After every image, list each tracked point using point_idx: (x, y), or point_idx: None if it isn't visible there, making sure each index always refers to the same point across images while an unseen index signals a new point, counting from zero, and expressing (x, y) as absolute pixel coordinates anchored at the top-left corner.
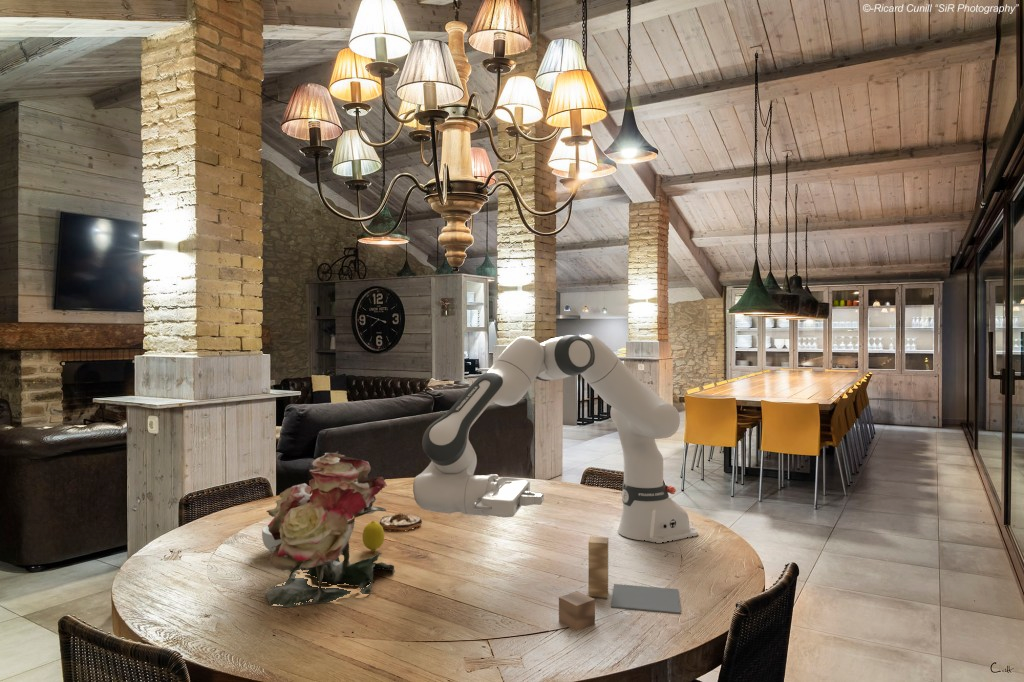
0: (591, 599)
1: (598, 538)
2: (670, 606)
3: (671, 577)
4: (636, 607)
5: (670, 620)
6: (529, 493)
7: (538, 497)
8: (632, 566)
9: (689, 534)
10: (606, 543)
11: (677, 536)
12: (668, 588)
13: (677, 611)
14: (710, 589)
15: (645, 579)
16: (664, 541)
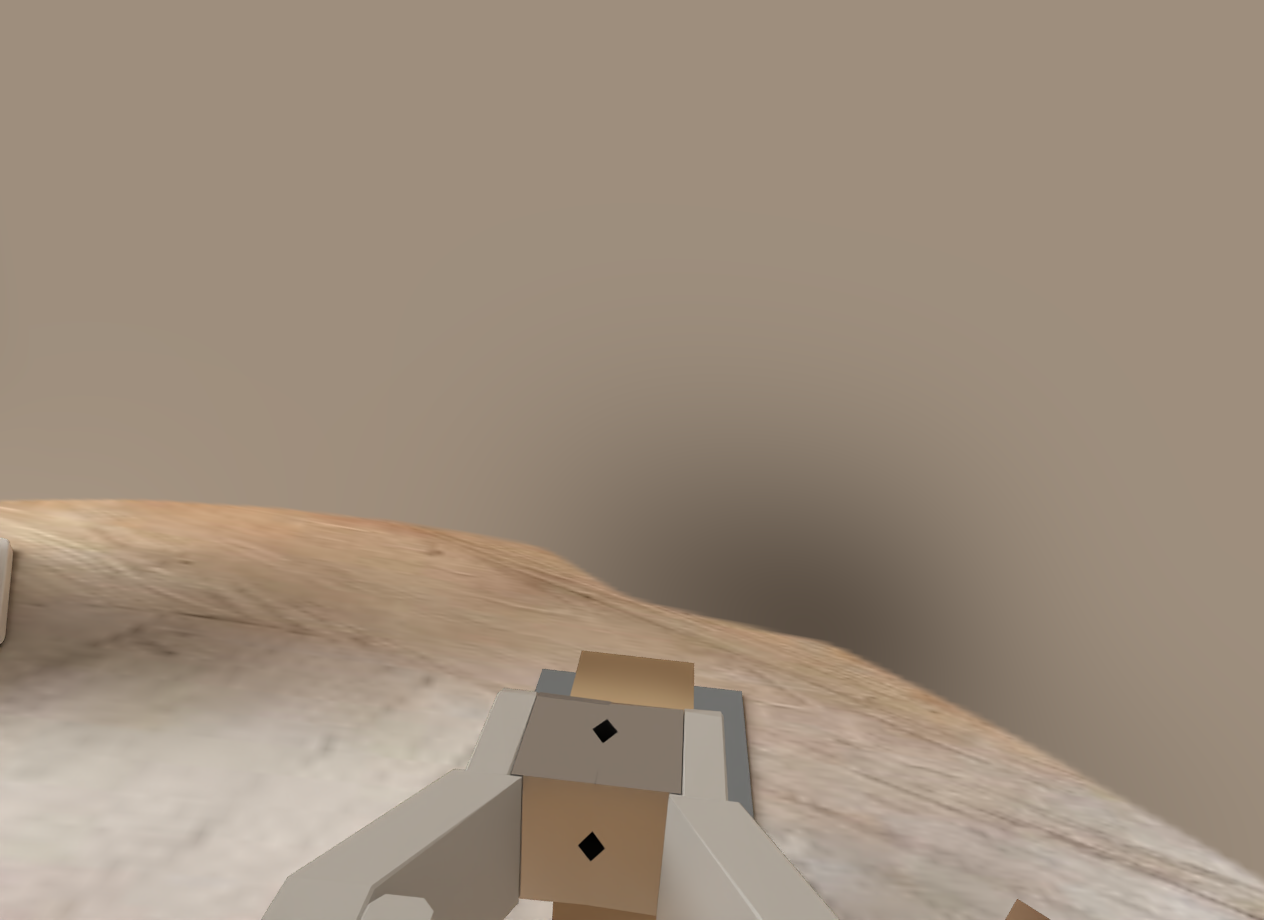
0: (1034, 917)
1: (602, 690)
2: (702, 707)
3: (412, 670)
4: (744, 803)
5: (804, 726)
6: (382, 908)
7: (720, 749)
8: (239, 768)
9: (8, 557)
10: (692, 666)
11: (4, 583)
12: (536, 689)
13: (737, 697)
14: (530, 609)
15: (419, 743)
16: (3, 626)
